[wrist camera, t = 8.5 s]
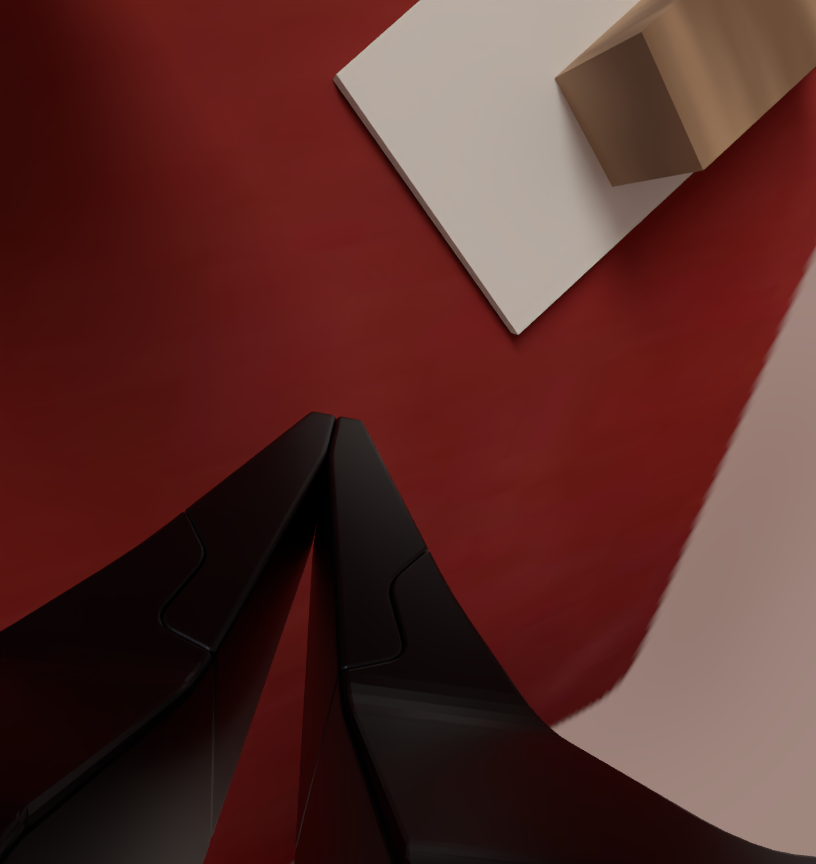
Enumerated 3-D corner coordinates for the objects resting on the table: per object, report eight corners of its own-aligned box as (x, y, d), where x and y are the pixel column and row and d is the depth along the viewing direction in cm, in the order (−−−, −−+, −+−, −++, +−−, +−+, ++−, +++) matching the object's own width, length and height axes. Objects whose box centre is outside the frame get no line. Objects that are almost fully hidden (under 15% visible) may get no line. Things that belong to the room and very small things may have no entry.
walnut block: (703, 170, 18) (944, -54, 18) (641, 31, 16) (912, -215, 16) (612, 186, 22) (811, 3, 22) (554, 77, 20) (773, -121, 20)
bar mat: (511, 333, 23) (518, 334, 22) (332, 79, 18) (336, 74, 18) (855, 14, 24) (869, 9, 23) (766, -304, 19) (782, -320, 19)
